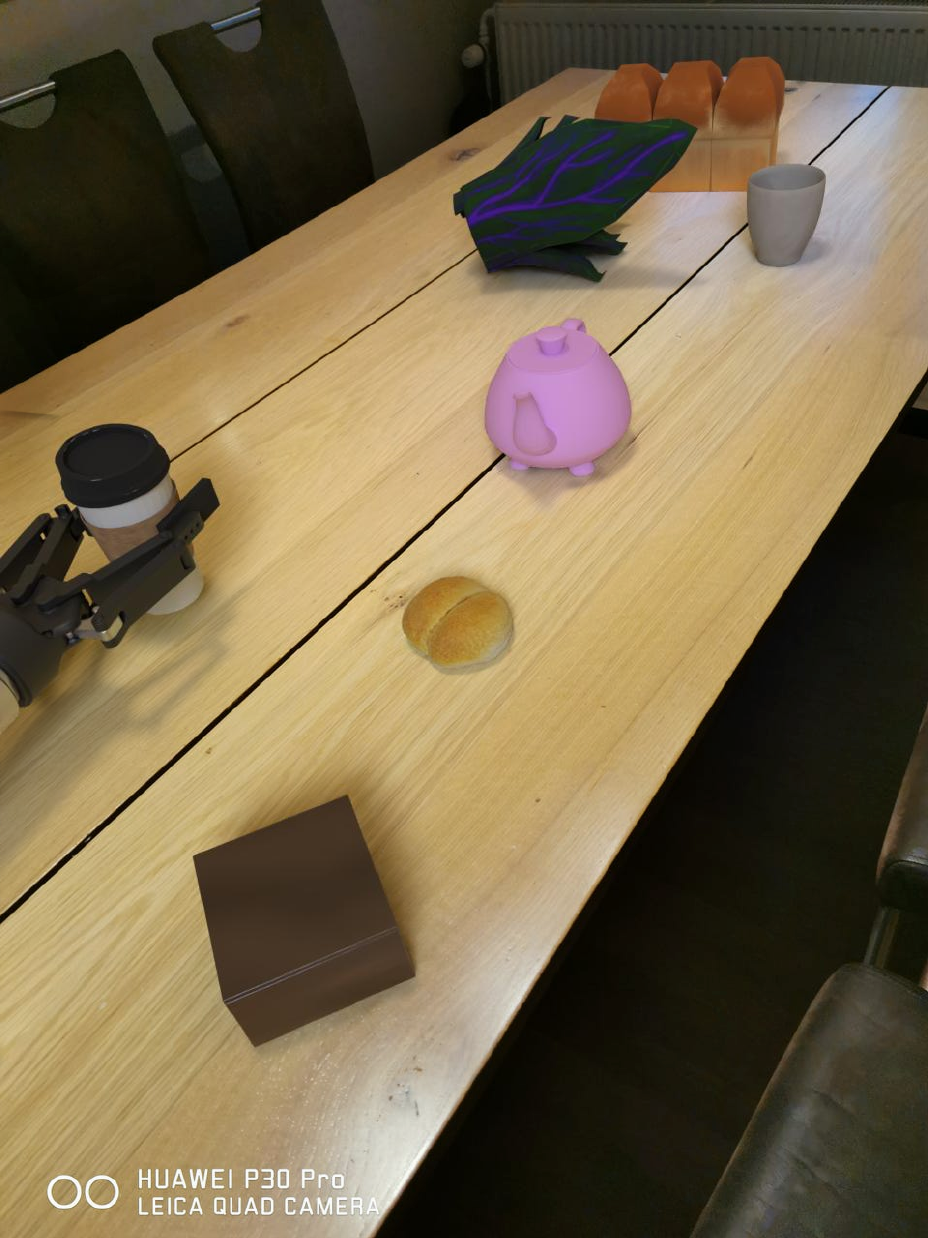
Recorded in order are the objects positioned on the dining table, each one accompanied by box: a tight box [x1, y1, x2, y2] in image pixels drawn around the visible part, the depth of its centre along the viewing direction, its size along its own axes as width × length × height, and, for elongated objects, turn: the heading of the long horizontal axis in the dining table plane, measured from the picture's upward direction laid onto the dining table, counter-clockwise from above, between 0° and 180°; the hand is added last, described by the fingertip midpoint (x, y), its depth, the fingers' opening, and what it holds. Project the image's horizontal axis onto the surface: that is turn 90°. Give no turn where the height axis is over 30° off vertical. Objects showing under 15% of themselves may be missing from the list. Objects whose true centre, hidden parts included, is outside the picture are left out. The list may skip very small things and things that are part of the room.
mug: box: [746, 163, 827, 267], centre depth 117 cm, size 12×9×10 cm
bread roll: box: [401, 575, 514, 670], centre depth 76 cm, size 8×9×4 cm
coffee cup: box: [54, 422, 205, 616], centre depth 78 cm, size 8×8×15 cm
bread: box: [593, 56, 786, 193], centre depth 137 cm, size 25×12×15 cm, turn 71°
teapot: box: [483, 317, 633, 477], centre depth 90 cm, size 20×14×12 cm
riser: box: [192, 793, 416, 1048], centre depth 57 cm, size 10×10×6 cm
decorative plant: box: [452, 114, 698, 283], centre depth 118 cm, size 21×26×30 cm
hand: (171, 484), depth 80 cm, fingers closed on coffee cup, 8 cm apart
